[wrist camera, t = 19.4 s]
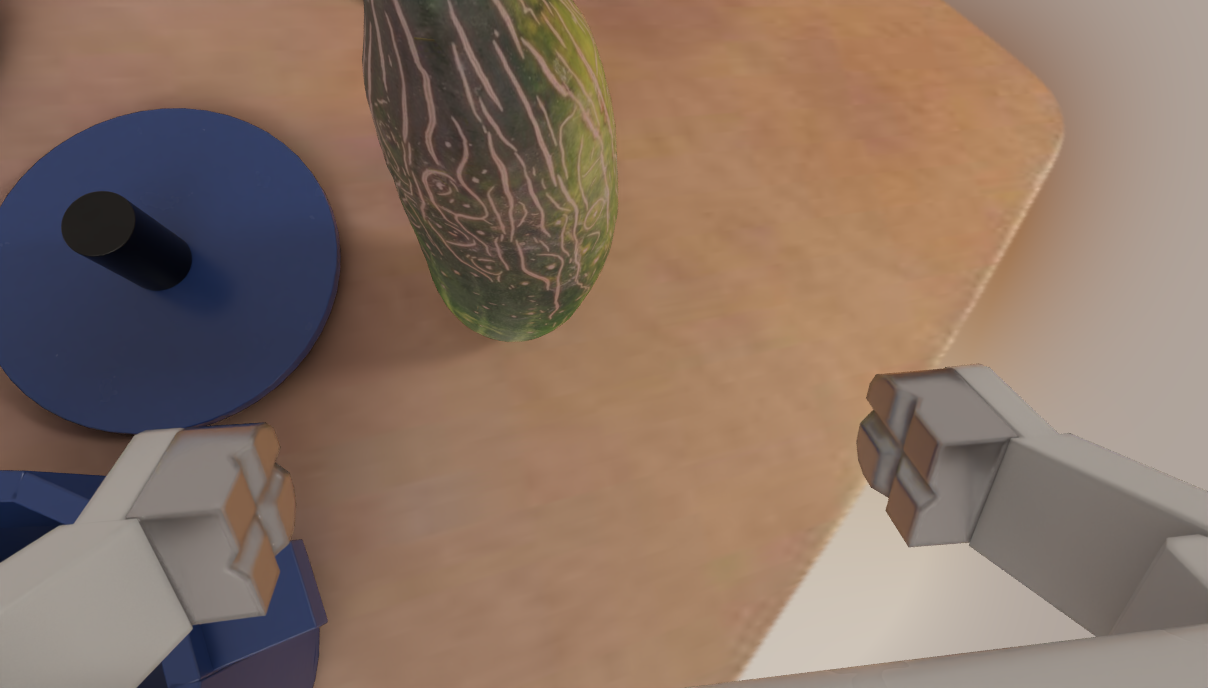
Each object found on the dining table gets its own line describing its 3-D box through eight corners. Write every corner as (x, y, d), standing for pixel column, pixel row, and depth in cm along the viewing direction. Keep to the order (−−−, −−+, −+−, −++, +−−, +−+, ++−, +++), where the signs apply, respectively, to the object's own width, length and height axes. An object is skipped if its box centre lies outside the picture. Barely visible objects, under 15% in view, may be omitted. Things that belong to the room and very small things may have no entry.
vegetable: (501, 200, 31) (419, -317, 11) (625, 272, 31) (757, -135, 11) (424, 315, 29) (179, -55, 10) (552, 391, 29) (557, 163, 10)
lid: (389, 363, 29) (354, 333, 24) (43, 490, 27) (-75, 487, 22) (290, 84, 31) (240, 3, 26) (-34, 181, 29) (-155, 114, 24)
